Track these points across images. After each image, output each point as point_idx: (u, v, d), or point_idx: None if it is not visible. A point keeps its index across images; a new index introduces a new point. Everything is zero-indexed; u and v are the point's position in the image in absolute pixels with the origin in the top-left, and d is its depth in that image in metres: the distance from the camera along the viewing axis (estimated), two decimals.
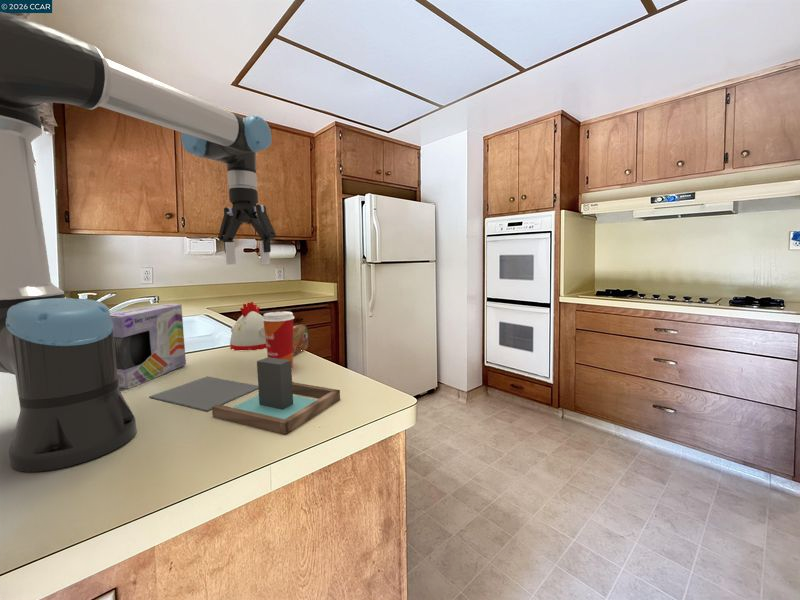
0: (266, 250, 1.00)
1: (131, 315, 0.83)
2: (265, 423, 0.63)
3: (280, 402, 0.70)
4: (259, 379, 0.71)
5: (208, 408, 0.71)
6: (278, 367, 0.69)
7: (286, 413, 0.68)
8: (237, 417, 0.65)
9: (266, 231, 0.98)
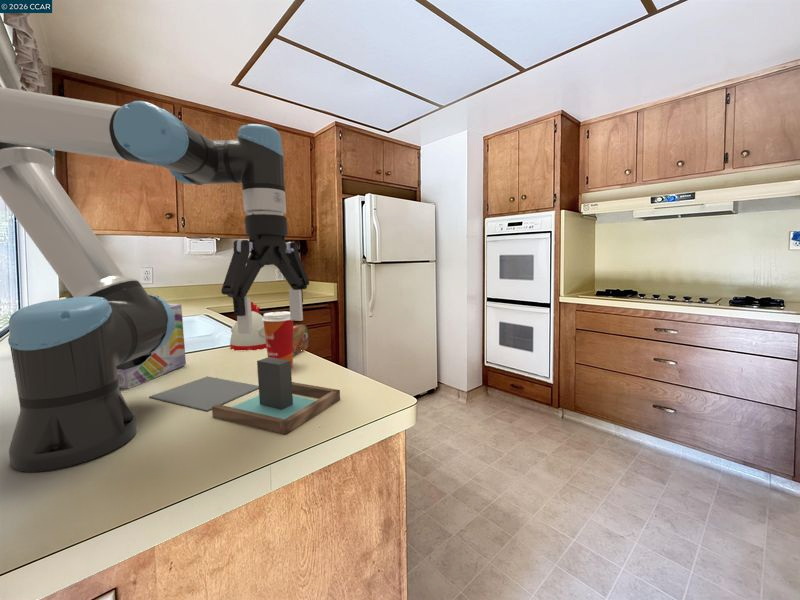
0: None
1: None
2: (265, 423, 0.63)
3: (280, 402, 0.69)
4: (259, 379, 0.71)
5: (208, 408, 0.71)
6: (277, 367, 0.69)
7: (285, 413, 0.68)
8: (237, 417, 0.65)
9: None
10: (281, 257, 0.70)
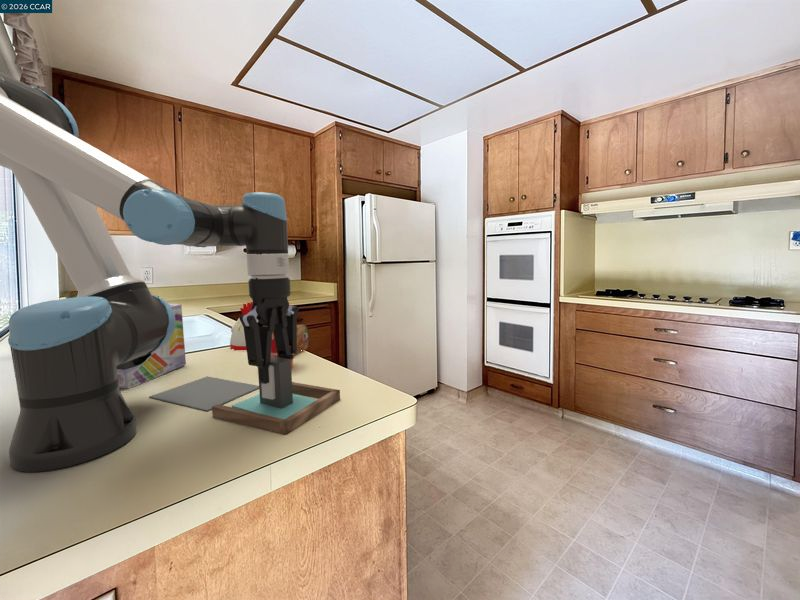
0: None
1: None
2: (265, 423, 0.63)
3: (279, 401, 0.69)
4: None
5: (208, 408, 0.71)
6: (277, 366, 0.69)
7: (284, 412, 0.68)
8: (237, 417, 0.65)
9: None
10: (281, 317, 0.70)
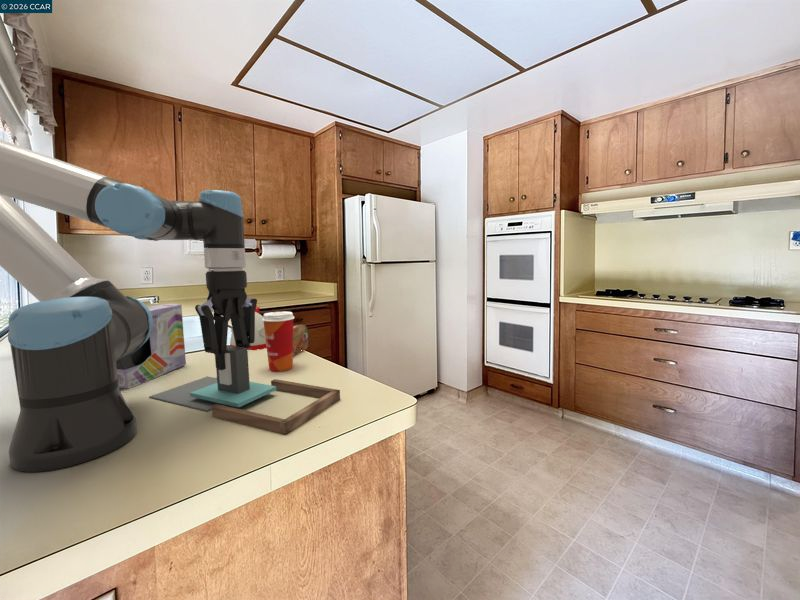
0: None
1: None
2: (265, 423, 0.63)
3: (236, 386, 0.74)
4: None
5: (208, 408, 0.71)
6: (234, 354, 0.73)
7: (240, 397, 0.72)
8: (237, 417, 0.65)
9: None
10: (237, 308, 0.75)
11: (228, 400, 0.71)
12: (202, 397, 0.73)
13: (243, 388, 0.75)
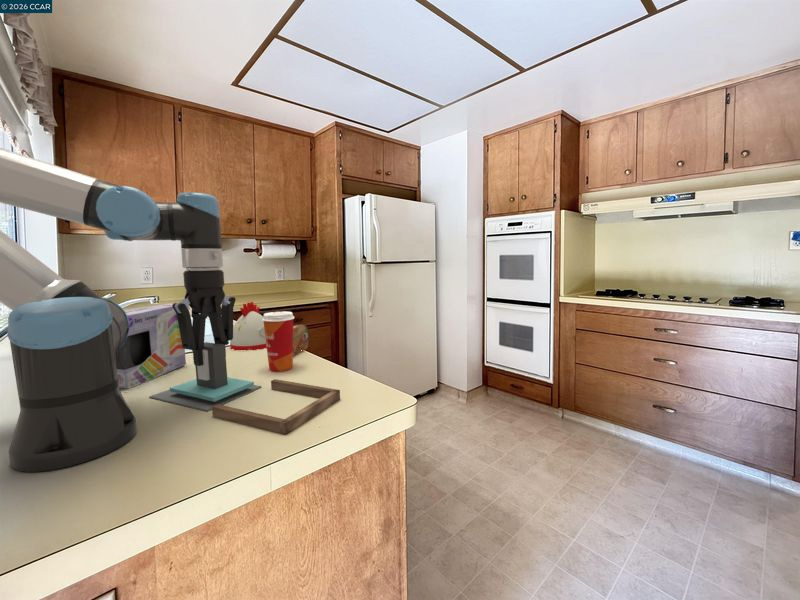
0: None
1: (131, 315, 0.83)
2: (265, 423, 0.63)
3: (214, 382, 0.77)
4: None
5: (208, 408, 0.71)
6: (211, 350, 0.76)
7: (217, 392, 0.75)
8: (237, 417, 0.65)
9: None
10: (214, 306, 0.77)
11: (205, 395, 0.73)
12: (181, 392, 0.76)
13: (221, 383, 0.78)
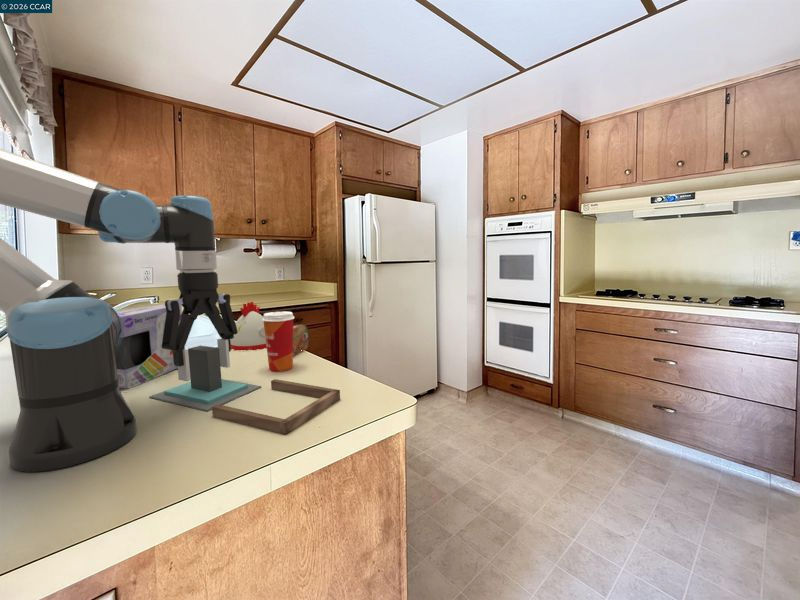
0: None
1: (131, 315, 0.83)
2: (265, 423, 0.63)
3: (208, 385, 0.78)
4: (190, 365, 0.79)
5: (208, 408, 0.71)
6: (205, 354, 0.77)
7: (212, 394, 0.76)
8: (237, 417, 0.65)
9: None
10: (211, 307, 0.79)
11: (199, 398, 0.74)
12: (175, 395, 0.77)
13: (215, 386, 0.79)
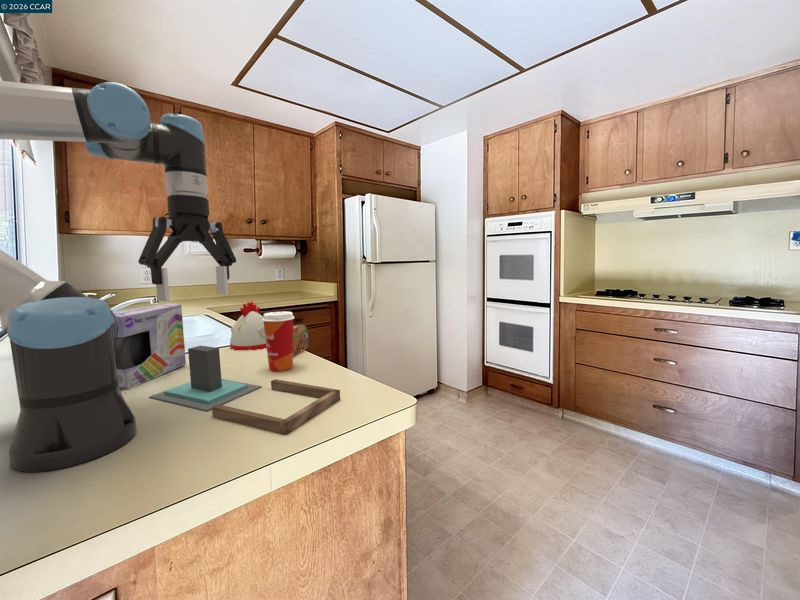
0: None
1: (131, 315, 0.83)
2: (265, 423, 0.63)
3: (208, 385, 0.78)
4: (190, 365, 0.79)
5: (208, 408, 0.71)
6: (205, 354, 0.77)
7: (212, 394, 0.76)
8: (237, 417, 0.65)
9: None
10: (203, 235, 0.77)
11: (199, 398, 0.74)
12: (175, 395, 0.77)
13: (215, 386, 0.79)
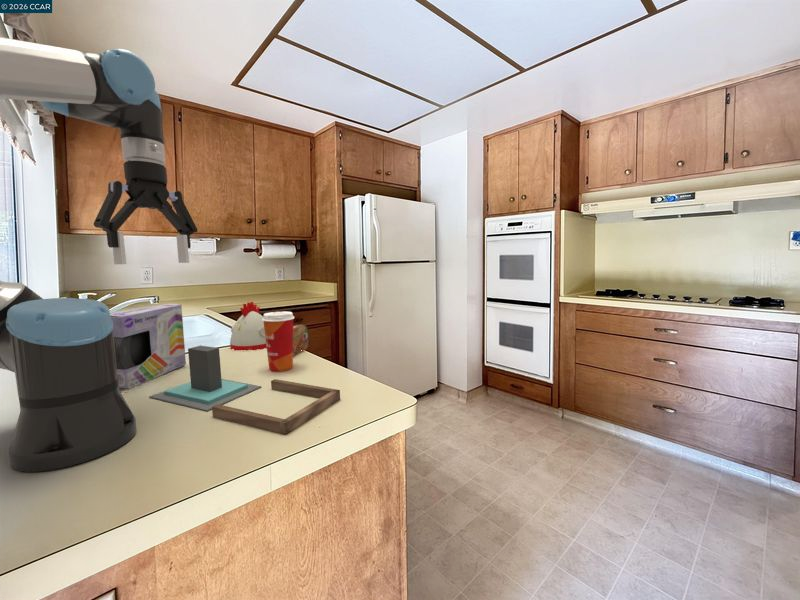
0: None
1: (131, 315, 0.83)
2: (265, 423, 0.63)
3: (208, 385, 0.78)
4: (190, 365, 0.79)
5: (208, 408, 0.71)
6: (205, 354, 0.77)
7: (212, 394, 0.76)
8: (237, 417, 0.65)
9: None
10: (161, 202, 0.79)
11: (199, 398, 0.74)
12: (175, 395, 0.77)
13: (215, 386, 0.79)
